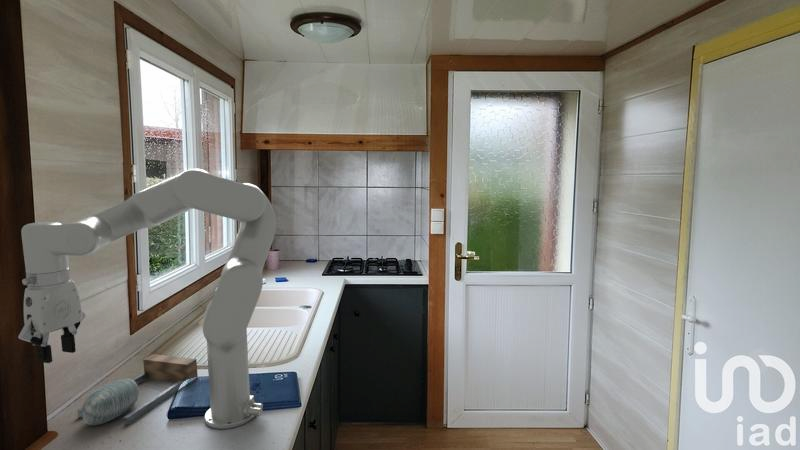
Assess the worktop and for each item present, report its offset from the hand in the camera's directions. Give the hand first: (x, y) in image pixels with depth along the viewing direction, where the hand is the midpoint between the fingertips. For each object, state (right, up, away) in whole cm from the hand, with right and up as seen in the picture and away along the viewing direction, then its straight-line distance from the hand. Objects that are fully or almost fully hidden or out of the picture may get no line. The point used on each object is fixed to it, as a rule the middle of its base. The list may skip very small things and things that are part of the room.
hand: (57, 356), depth 103 cm
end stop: (+8, -17, +35) cm, 40 cm away
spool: (+3, -20, +15) cm, 25 cm away
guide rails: (+5, -18, +23) cm, 30 cm away
